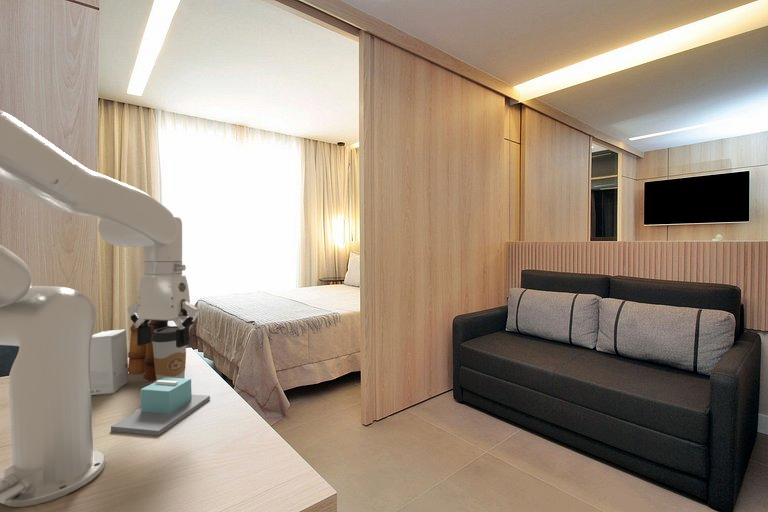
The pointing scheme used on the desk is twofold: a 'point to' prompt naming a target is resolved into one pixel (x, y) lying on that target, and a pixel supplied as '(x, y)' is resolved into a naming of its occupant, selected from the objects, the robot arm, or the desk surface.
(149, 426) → the board
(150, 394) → the teal box
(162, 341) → the coffee cup
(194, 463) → the desk surface
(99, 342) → the skincare box
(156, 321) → the binoculars
